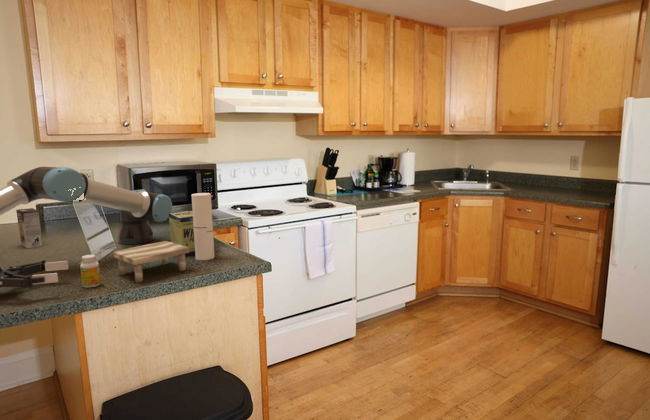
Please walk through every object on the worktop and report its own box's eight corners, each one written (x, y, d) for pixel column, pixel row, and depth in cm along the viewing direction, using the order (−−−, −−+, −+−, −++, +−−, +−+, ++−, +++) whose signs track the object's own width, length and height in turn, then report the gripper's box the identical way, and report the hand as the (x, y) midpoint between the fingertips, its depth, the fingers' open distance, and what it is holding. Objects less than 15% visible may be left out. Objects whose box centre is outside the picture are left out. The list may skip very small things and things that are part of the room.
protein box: (183, 256, 178) (180, 218, 176) (170, 248, 191) (167, 212, 188) (208, 252, 184) (206, 214, 182) (194, 245, 197) (192, 209, 194)
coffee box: (20, 245, 200) (15, 209, 198) (37, 242, 205) (32, 207, 202) (26, 248, 194) (21, 211, 192) (43, 245, 199) (38, 209, 196)
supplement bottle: (79, 288, 144) (76, 259, 142) (85, 283, 149) (82, 254, 147) (98, 287, 144) (94, 257, 143) (103, 281, 150) (100, 253, 148)
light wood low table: (114, 273, 158) (112, 251, 156) (167, 261, 172) (166, 240, 171) (136, 283, 147) (134, 259, 146) (190, 269, 162) (189, 247, 161)
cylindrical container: (194, 256, 178) (190, 193, 174) (212, 254, 181) (209, 192, 177) (197, 261, 172) (192, 196, 168) (216, 258, 175) (212, 194, 170)
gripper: (0, 277, 149) (72, 270, 155) (-33, 305, 126) (54, 295, 132) (-3, 255, 148) (70, 249, 154) (-37, 279, 124) (51, 270, 131)
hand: (63, 270), depth 143 cm, fingers open, 13 cm apart
